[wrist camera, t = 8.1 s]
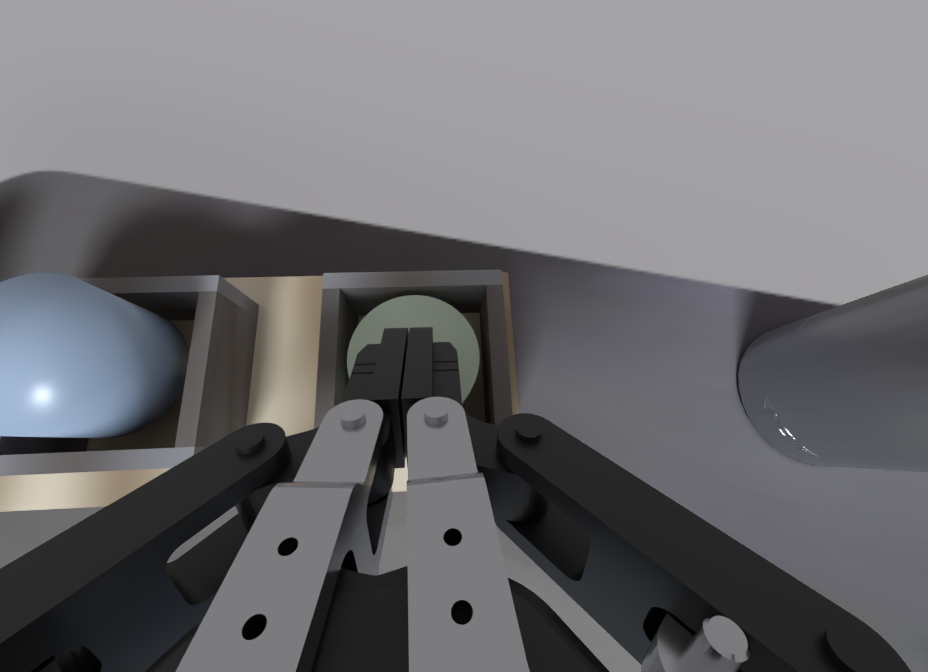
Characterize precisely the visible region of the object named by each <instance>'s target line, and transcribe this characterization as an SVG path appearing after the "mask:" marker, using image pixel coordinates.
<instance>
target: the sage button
mask: <svg viewBox="0 0 928 672" xmlns="http://www.w3.org/2000/svg"><path fill="white" fill-rule="evenodd" d="M412 327H433V342H450V343H451V344H452V345H453V346H454V348H455V349H456V350H457V354H458V365H459V375H460V386H461V396H462V404H463V405H464V403H465V402H466V400H467V398H468V396H469V394H470V392H471V389H472V387H473V385H474V383H475V380H476V377H477V374H478V369H479V359H480V354H479V346H478V342H477V338H476V336H475V333H474V331H473V329H472V327H471V326H470V324H469V323H468V321H467V320H466V319H465V317H464V316H463V315H462V314H461V313H460V312H459V311H458V310H456V309H455V308H454V307H452V306H451V305H449V304H447V303H446V302H444V301H441V300H439V299H436V298H433V297H429V296H423V295H408V296H401V297H397V298H394V299H391V300H388V301H386V302H384V303H382V304H380V305H379V306H377V307H376V308H374V309H373V310H372V311H370V312H369V313H368V314H367V315H366V316H365V317H364V318H363V319H362V321H361V322H360V323H359V325H358V326H357V328H356V329H355V331H354V333H353V335H352V338H351V340H350V343H349V348H348V353H347V369H348V375H349V378H350V375H351V374H352V373H351V372H352V369H353V366H354V363H355V360H356V357H357V354H358V353H359V352H360V351H361V350H362V349H363V348H364V347H365V346H366V345H367V344H380V343H381V339H382V335H383V331H384V328H408V331H409V329H410V328H412Z"/></svg>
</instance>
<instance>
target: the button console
mask: <svg viewBox="0 0 928 672" xmlns="http://www.w3.org/2000/svg"><path fill="white" fill-rule="evenodd" d="M77 279H80V280H82V281H84V282H86V283H88V284H91V285H93V286H95V287H97V288H99V289H102V290H104V291H106V292H108V293H111V294H113V295H115V296H117V297H119V298H122V299H124V300H126V301H128V302H130V303H133V304H135V305H137V306H139V307H142V308H144V309H146V310H148V311H150V312H153V313H155V314H157V315H159V316H161V317H164V318H165V319H167V320H169V321H170V322H171V323H173V324H174V325H175V326H176V327H177V328H178V330H179V331H180V332H181V333H182V335H183V337H184V339H185V341H186V344H187V347H188V352H189V359H188V365H187V372H186V378H185V384H184V387H183V389H182V391H181V393H180V395H179V396H178V398H177V399H176V401H175V402H174V403H173V405H172V406H171V407H170V408H169V409H168V410H167V411H166V412H165V413H164V414H163V415H162V416H161V417H160V418H159V419H157V420H156V421H155V422H154V423H152V424H150V425H149V426H147V427H146V428H144V429H142V430H139V431H137V432H135V433H132V434H129V435H126V436H122V437H117V438H66V437H16V436H0V512H4V511H24V510H43V509H63V508H83V507H102V506H108V505H110V504H111V503H113V502H115V501H117V500H118V499H120V498H122V497H123V496H125V495H127V494H128V493H130V492H132V491H134V490H135V489H137V488H139V487H140V486H142V485H144V484H145V483H147V482H149V481H151V480H152V479H154V478H156V477H157V476H159V475H161V474H162V473H164V472H166V471H168V470H169V469H171V468H173V467H174V466H176V465H178V464H179V463H181V462H183V461H185V460H186V459H188V458H190V457H191V456H193V455H195V454H196V453H198V452H200V451H202V450H203V449H205V448H207V447H208V446H210V445H212V444H213V443H215V442H217V441H219V440H220V439H222V438H224V437H225V436H227V435H229V434H230V433H232V432H234V431H236V430H238V429H240V428H242V427H244V426H247V425H251V424H255V423H274V424H277V425H279V426H280V427H282V428H283V430H284V431H285V435H286V436H290V435H294V434H298V433H301V432H305V431H309V430H312V429H315V428H317V427H319V426H320V425H321V423H322V421H323V419H324V417H325V415H326V414H327V413H328V411H330V410H331V409H332V408H333V407H335V406H336V405H338V404H341V403H342V400H343V397H344V394H345V391H346V388H347V384H348V381H349V375H348V369H347V353H348V348H349V343H350V340H351V338H352V335H353V333H354V331H355V329H356V328H357V326H358V325H359V323H360V322H361V321H362V319H363V318H364V317H365V316H366V315H367V314H368V313H369V312H370V311H372V310H373V309H374V308H376V307H377V306H379V305H380V304H382V303H384V302H386V301H388V300H391V299H394V298H397V297H401V296H408V295H423V296H429V297H433V298H436V299H439V300H441V301H444V302H446V303H447V304H449V305H451V306H452V307H454V308H455V309H456V310H458V311H459V312H460V313H461V314H462V315H463V316H464V317H465V319H466V320H467V321H468V323H469V324H470V326H471V327H472V329H473V331H474V333H475V336H476V338H477V342H478V346H479V354H480V359H479V369H478V374H477V377H476V380H475V383H474V385H473V387H472V389H471V392H470V394H469V396H468V398H467V400H466V402H465V403H464V405H463V407H464V409H465V411H466V412H467V413H468V414H469V415H470V416H472V417H473V418H475V419H477V420H479V421H481V422H484V423H488V424H493V425H498V426H499V425H500V423H501V422H502V421H503V420H504V419H505V418H507V417H509V416H511V415H514V414H520V413H519V400H518V388H517V376H516V363H515V351H514V339H513V326H512V314H511V302H510V289H509V277H508V272H502V269H497V270H448V271H399V272H350V273H323V276H292V277H243V278H222V277H221V276H220V275H203V276H154V277H105V278H77ZM407 481H408V468H407V457H406V458H405V468H395V472H394V480H393V485H392V490H393V492H397V491H407Z"/></svg>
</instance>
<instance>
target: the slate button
mask: <svg viewBox="0 0 928 672" xmlns="http://www.w3.org/2000/svg"><path fill="white" fill-rule="evenodd" d="M188 359H189V352H188V347H187V344H186V341H185V339H184V337H183V335H182V333H181V332H180V331H179V330H178V328H177V327H176V326H175V325H174V324H173V323H171V322H170V321H169V320H167V319H165V318H164V317H161V316H159V315H157V314H155V313H153V312H150V311H148V310H146V309H144V308H142V307H139V306H137V305H135V304H133V303H130V302H128V301H126V300H124V299H122V298H119V297H117V296H115V295H113V294H111V293H108V292H106V291H104V290H102V289H99V288H97V287H95V286H93V285H91V284H88V283H86V282H84V281H82V280H80V279H77V278H75V277H72V276H69V275H65V274H60V273H49V272H41V273H31V274H25V275H20V276H17V277H13V278H10V279H7V280H5V281H2V282H0V436H16V437H66V438H117V437H122V436H126V435H129V434H132V433H135V432H137V431H139V430H142V429H144V428H146V427H147V426H149V425H150V424H152V423H154V422H155V421H156V420H157V419H159V418H160V417H161V416H162V415H163V414H164V413H165V412H166V411H167V410H168V409H169V408H170V407H171V406H172V405H173V403H174V402H175V401H176V399H177V398H178V396H179V395H180V393H181V391H182V389H183V387H184V384H185V378H186V372H187V365H188Z"/></svg>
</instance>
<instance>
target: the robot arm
mask: <svg viewBox="0 0 928 672" xmlns="http://www.w3.org/2000/svg"><path fill="white" fill-rule="evenodd" d="M351 373H352V374H351V375H350V378H349V381H348V384H347V388H346V391H345V394H344V397H343V400H342V403H341V404H338V405H336V406H335V407H333V408H332V409H331V410H330V411H328V413H327V414H326V415H325V417H324V419H323V421H322V423H321V425H320V426H319V427H317V428H315V429H312V430H309V431H305V432H301V433H298V434H294V435H290V436H286V435H285V431H284V430H283V428H282V427H280V426H279V425H277V424H274V423H255V424H251V425H247V426H244V427H242V428H240V429H238V430H236V431H234V432H232V433H230V434H229V435H227V436H225V437H224V438H222V439H220V440H219V441H217V442H215V443H213V444H212V445H210V446H208V447H207V448H205V449H203V450H202V451H200V452H198V453H196V454H195V455H193V456H191V457H190V458H188V459H186V460H185V461H183V462H181V463H179V464H178V465H176V466H174V467H173V468H171V469H169V470H168V471H166V472H164V473H162V474H161V475H159V476H157V477H156V478H154V479H152V480H151V481H149V482H147V483H145V484H144V485H142V486H140V487H139V488H137V489H135V490H134V491H132V492H130V493H128V494H127V495H125V496H123V497H122V498H120V499H118V500H117V501H115V502H113V503H111V504H110V505H108V506H106V507H105V508H103V509H101V510H100V511H98V512H96V513H94V514H93V515H91V516H89V517H88V518H86V519H84V520H83V521H81V522H79V523H77V524H76V525H74V526H72V527H71V528H69V529H67V530H66V531H64V532H62V533H60V534H59V535H57V536H55V537H54V538H52V539H50V540H49V541H47V542H45V543H43V544H42V545H40V546H38V547H37V548H35V549H33V550H32V551H30V552H28V553H26V554H25V555H23V556H21V557H20V558H18V559H16V560H15V561H13V562H11V563H9V564H8V565H6V566H4V567H3V568H1V569H0V672H609V671H608V669H607V668H606V667H605V666H604V665H603V664H602V663H601V662H600V661H599V660H598V659H597V658H596V656H595V655H594V654H593V653H592V652H591V651H590V650H589V649H588V648H587V647H586V646H585V644H584V643H583V642H582V641H581V640H580V639H579V638H578V637H577V636H576V635H575V634H574V633H573V631H572V630H571V629H570V628H569V627H568V626H567V625H566V624H565V623H564V622H563V621H562V619H561V618H560V617H559V616H558V615H557V614H556V613H555V612H554V611H553V610H552V609H551V608H550V607H549V606H548V605H547V604H546V603H545V602H544V601H543V600H542V599H541V598H540V597H538V596H537V595H536V594H535V593H534V592H532V591H531V590H529V589H528V588H526V587H525V586H523V585H522V584H520V583H518V582H516V581H514V580H512V579H510V578H508V577H507V573H506V568H505V564H504V560H503V555H502V551H501V547H500V542H499V538H498V534H497V529H496V525H497V526H498V527H499V528H500V530H502V531H503V532H504V533H505V534H506V535H507V536H508V537H509V538H510V539H511V540H512V541H513V542H514V543H515V544H516V545H517V546H518V547H519V548H520V549H521V550H522V551H523V552H524V553H525V554H527V555H528V556H529V557H530V558H531V559H532V560H533V561H534V562H535V563H536V564H537V565H538V566H539V567H540V568H541V569H542V570H543V571H544V572H545V573H546V574H547V575H548V576H549V577H550V578H552V579H553V580H554V581H555V582H556V583H557V584H558V585H559V586H560V587H561V588H562V589H563V590H564V591H565V592H566V593H567V594H568V595H569V596H570V597H571V598H572V599H573V600H574V601H575V602H577V603H578V604H579V605H580V606H581V607H582V608H583V609H584V610H585V611H586V612H587V613H588V614H589V615H590V616H591V617H592V618H593V619H594V620H595V621H596V622H597V623H598V624H599V625H600V626H602V627H603V628H604V629H605V630H606V631H607V632H608V633H609V634H610V635H611V636H612V637H613V638H614V639H615V640H616V641H617V642H618V643H619V644H620V645H621V646H622V647H623V648H624V649H625V650H627V651H628V652H629V653H630V654H631V655H632V656H633V657H634V658H635V659H636V660H637V661H638V662H639V663H640V664H641V665H642V669H641V672H911V671H910V670H909V668H908V666H907V665H906V663H905V662H904V661H903V660H902V658H901V657H900V656H899V655H898V653H897V652H896V651H895V650H894V649H893V648H892V647H891V646H890V645H889V644H888V642H886V641H885V640H884V639H883V638H882V637H881V636H880V635H879V634H878V633H877V632H875V631H874V630H873V629H872V628H870V627H869V626H868V625H867V624H865V623H864V622H862V621H861V620H859V619H858V618H857V617H855V616H853V615H852V614H850V613H849V612H847V611H846V610H844V609H842V608H841V607H839V606H838V605H836V604H835V603H833V602H832V601H830V600H828V599H827V598H825V597H824V596H822V595H821V594H819V593H817V592H816V591H814V590H813V589H811V588H810V587H808V586H806V585H805V584H803V583H802V582H800V581H799V580H797V579H795V578H794V577H792V576H791V575H789V574H788V573H786V572H785V571H783V570H781V569H780V568H778V567H777V566H775V565H774V564H772V563H770V562H769V561H767V560H766V559H764V558H763V557H761V556H759V555H758V554H756V553H755V552H753V551H752V550H750V549H749V548H747V547H745V546H744V545H742V544H741V543H739V542H738V541H736V540H734V539H733V538H731V537H730V536H728V535H727V534H725V533H723V532H722V531H720V530H719V529H717V528H716V527H714V526H712V525H711V524H709V523H708V522H706V521H705V520H703V519H702V518H700V517H698V516H697V515H695V514H694V513H692V512H691V511H689V510H687V509H686V508H684V507H683V506H681V505H680V504H678V503H676V502H675V501H673V500H672V499H670V498H669V497H667V496H665V495H664V494H662V493H661V492H659V491H658V490H656V489H655V488H653V487H651V486H650V485H648V484H647V483H645V482H644V481H642V480H640V479H639V478H637V477H636V476H634V475H633V474H631V473H629V472H628V471H626V470H625V469H623V468H622V467H620V466H618V465H617V464H615V463H614V462H612V461H611V460H609V459H608V458H606V457H604V456H603V455H601V454H600V453H598V452H597V451H595V450H593V449H592V448H590V447H589V446H587V445H586V444H584V443H582V442H581V441H579V440H578V439H576V438H575V437H573V436H572V435H570V434H568V433H567V432H565V431H564V430H562V429H561V428H559V427H557V426H556V425H554V424H553V423H551V422H550V421H548V420H546V419H544V418H543V417H540V416H537V415H534V414H527V413H521V414H514V415H511V416H509V417H507V418H505V419H504V420H503V421H502V422H501V423H500V425H499V426H498V425H493V424H488V423H484V422H481V421H479V420H477V419H475V418H473V417H472V416H470V415H469V414H468V413H467V412H466V411H465V409H464V407H463V404H462V396H461V386H460V375H459V365H458V354H457V350H456V349H455V348H454V346H453V345H452V344H451V343H450V342H433V327H412V328H410V329H409V331H408V328H384V331H383V335H382V339H381V343H380V344H367V345H366V346H365V347H364V348H363V349H362V350H361V351H360V352H359V353H358V354H357V357H356V360H355V363H354V366H353V369H352V372H351ZM738 379H739V391H740V396H741V400H742V404H743V406H744V408H745V410H746V413H747V415H748V417H749V419H750V420H751V422H752V423H753V425H754V426H755V428H756V429H757V431H758V432H759V433H760V434H761V435H762V436H763V437H764V438H765V439H766V440H767V441H768V442H769V443H770V444H771V445H772V446H774V447H775V448H776V449H778V450H779V451H780V452H782V453H783V454H785V455H787V456H789V457H791V458H793V459H795V460H797V461H800V462H803V463H807V464H811V465H819V466H835V467H851V468H868V469H883V470H896V471H913V472H928V275H926V276H923V277H920V278H917V279H914V280H911V281H909V282H906V283H903V284H900V285H897V286H894V287H892V288H889V289H886V290H883V291H880V292H878V293H875V294H872V295H869V296H866V297H863V298H861V299H858V300H855V301H852V302H849V303H846V304H844V305H841V306H838V307H835V308H832V309H830V310H826V311H823V312H820V313H817V314H815V315H812V316H809V317H806V318H804V319H801V320H798V321H795V322H793V323H790V324H787V325H784V326H782V327H779V328H776V329H773V330H771V331H768V332H765V333H763V334H762V335H760V336H759V337H758V338H756V339H755V340H754V341H753V342H752V343H751V344H750V345H749V347H748V348H747V349H746V351H745V353H744V355H743V357H742V360H741V363H740V368H739V373H738ZM406 457H407V468H408V481H407V561H408V566H406V567H403V568H400V569H397V570H394V571H391V572H388V573H385V574H381V575H378V570H379V562H380V557H381V552H382V547H383V542H384V537H385V532H386V526H387V521H388V516H389V511H390V506H391V501H392V496H393V490H392V485H393V480H394V472H395V468H405V458H406ZM234 506H236V508H237V510H238V514H237V515H236V516H234V517H233V518H232V519H230V520H229V521H228V522H226V523H225V524H224V525H222V526H221V527H220V528H218V529H217V530H216V531H214V532H213V533H212V534H210V535H209V536H208V537H206V538H205V539H204V540H202V541H201V542H200V543H198V544H197V545H196V546H194V547H193V548H192V549H190V550H189V551H188V552H186V553H185V554H184V555H182V556H181V557H179V558H178V559H176V560H175V561H173V562H170V563H167V561H168V559H169V557H170V556H171V554H172V553H173V552H174V551H175V550H176V549H177V548H178V547H179V546H180V545H182V544H183V543H184V542H186V541H187V540H188V539H190V538H191V537H192V536H194V535H195V534H197V533H198V532H199V531H201V530H202V529H203V528H205V527H206V526H208V525H209V524H210V523H212V522H213V521H214V520H216V519H217V518H218V517H220V516H221V515H223V514H224V513H225V512H227V511H228V510H229V509H231V508H232V507H234ZM495 523H496V525H495Z"/></svg>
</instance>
